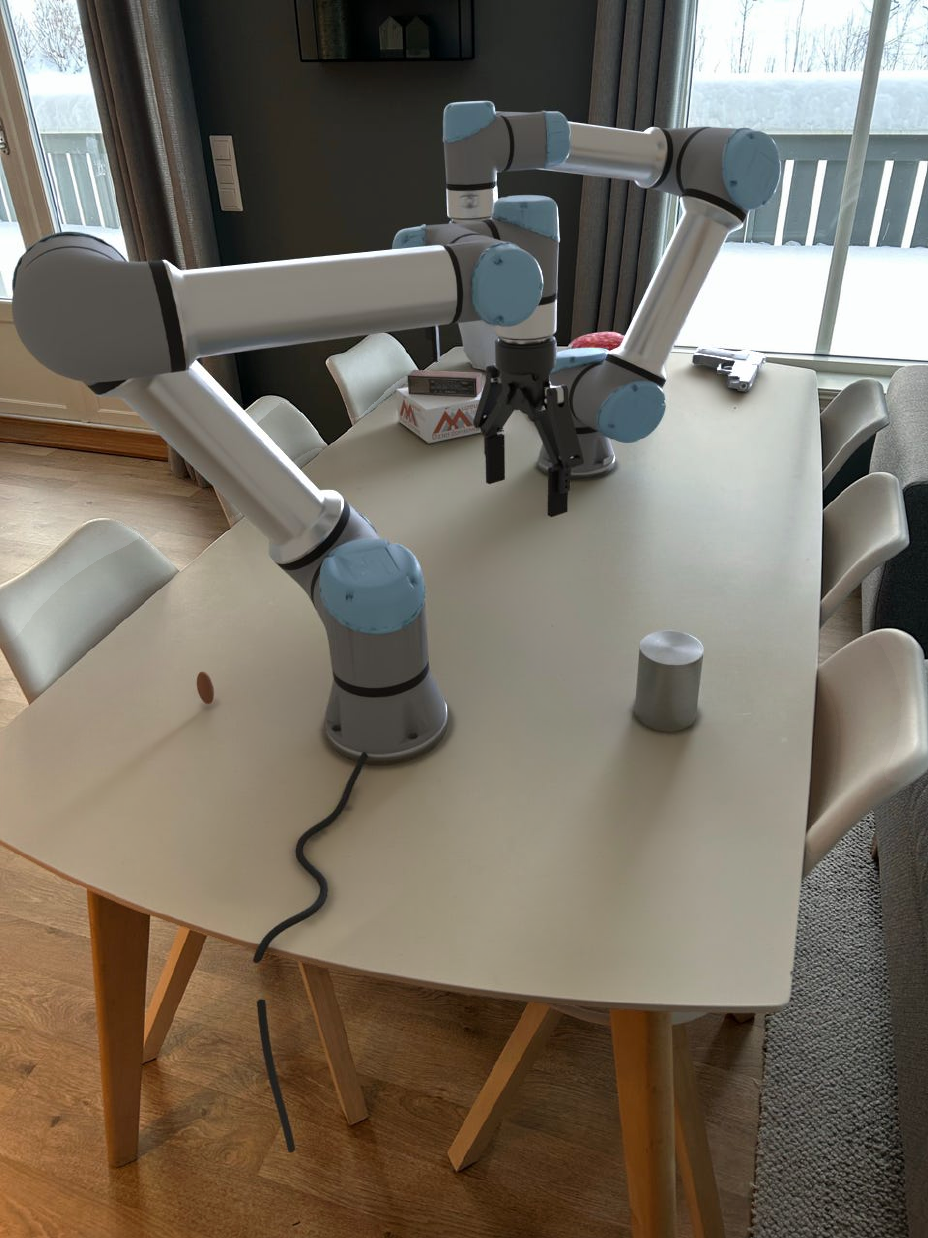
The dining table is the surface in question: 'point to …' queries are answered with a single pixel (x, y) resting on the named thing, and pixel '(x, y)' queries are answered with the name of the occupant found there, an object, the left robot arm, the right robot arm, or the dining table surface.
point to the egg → (205, 687)
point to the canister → (668, 680)
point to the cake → (598, 341)
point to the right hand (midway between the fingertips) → (477, 359)
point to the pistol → (732, 365)
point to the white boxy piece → (440, 404)
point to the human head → (479, 343)
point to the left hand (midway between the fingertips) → (525, 497)
